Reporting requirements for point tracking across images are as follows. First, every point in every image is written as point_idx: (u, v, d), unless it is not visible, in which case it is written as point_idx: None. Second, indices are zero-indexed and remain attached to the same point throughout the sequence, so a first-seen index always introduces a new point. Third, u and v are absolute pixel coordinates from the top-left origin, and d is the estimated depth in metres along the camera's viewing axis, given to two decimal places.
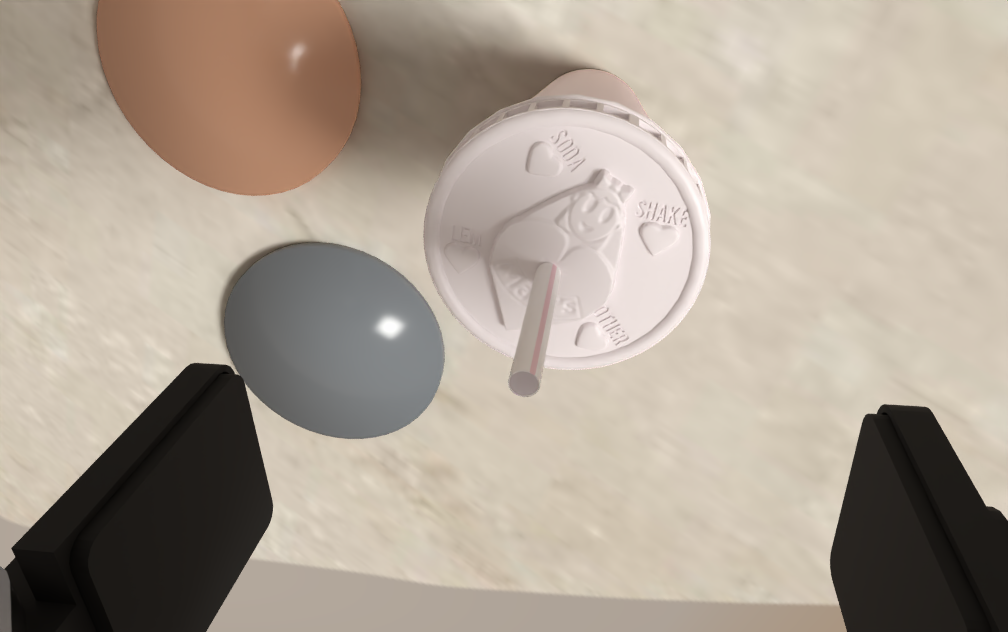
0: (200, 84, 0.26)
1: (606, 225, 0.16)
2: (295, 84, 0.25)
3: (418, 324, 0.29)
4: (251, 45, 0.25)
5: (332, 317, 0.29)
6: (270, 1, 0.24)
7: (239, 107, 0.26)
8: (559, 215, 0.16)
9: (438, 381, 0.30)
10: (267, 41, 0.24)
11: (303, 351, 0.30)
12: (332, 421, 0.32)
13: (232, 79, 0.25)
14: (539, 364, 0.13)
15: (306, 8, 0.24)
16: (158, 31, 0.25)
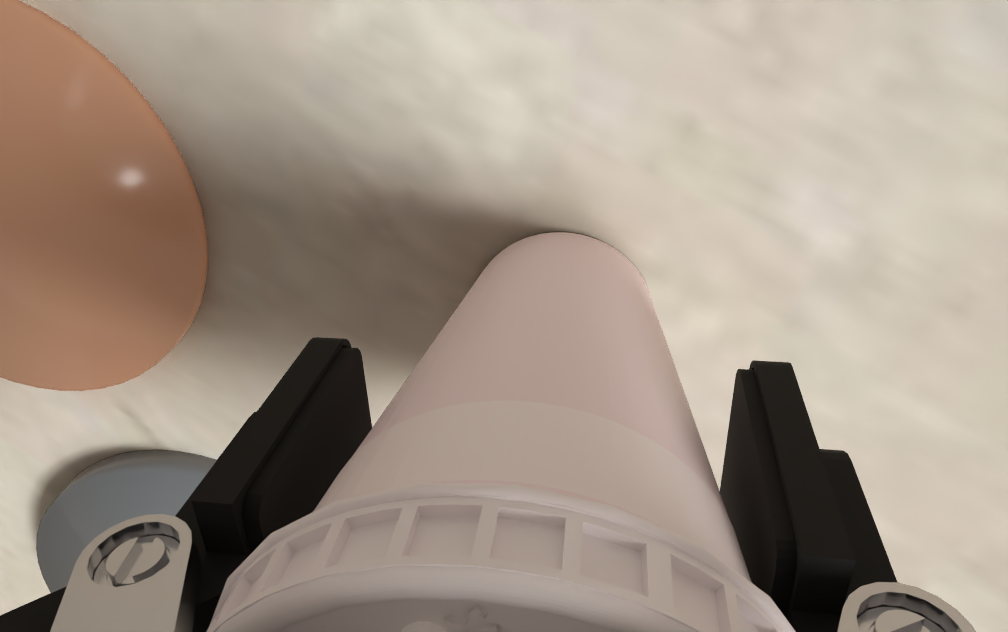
0: None
1: None
2: (102, 241, 0.16)
3: None
4: (28, 183, 0.15)
5: None
6: (48, 119, 0.15)
7: (23, 270, 0.17)
8: None
9: None
10: (51, 178, 0.15)
11: None
12: None
13: (7, 231, 0.16)
14: None
15: (105, 131, 0.15)
16: None
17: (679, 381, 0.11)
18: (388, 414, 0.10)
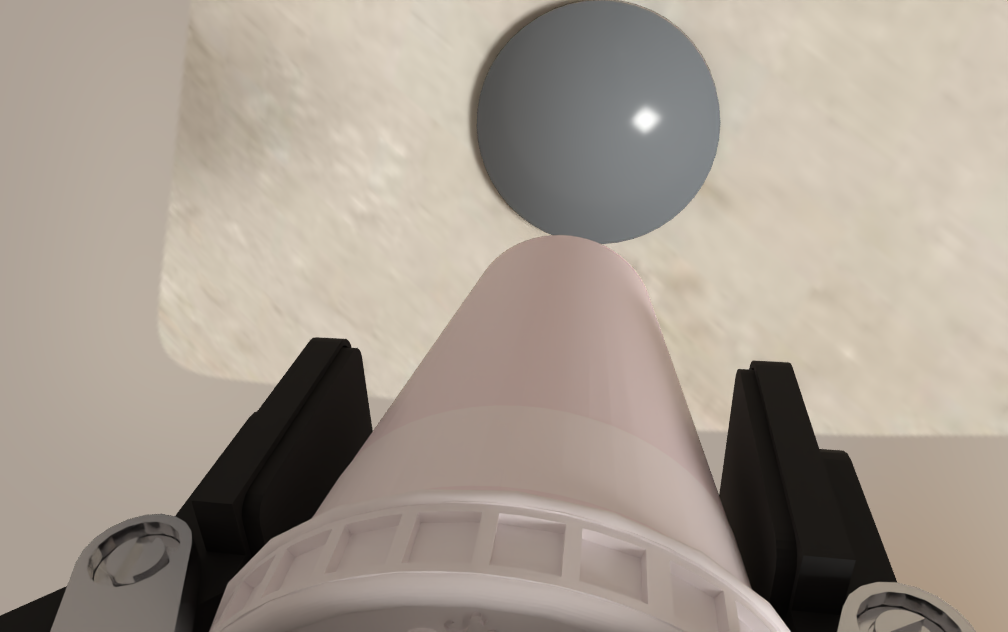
0: None
1: None
2: None
3: (649, 32, 0.26)
4: None
5: (572, 96, 0.28)
6: None
7: None
8: None
9: (710, 79, 0.26)
10: None
11: (572, 155, 0.29)
12: (645, 211, 0.29)
13: None
14: None
15: None
16: None
17: (679, 385, 0.11)
18: (388, 418, 0.10)
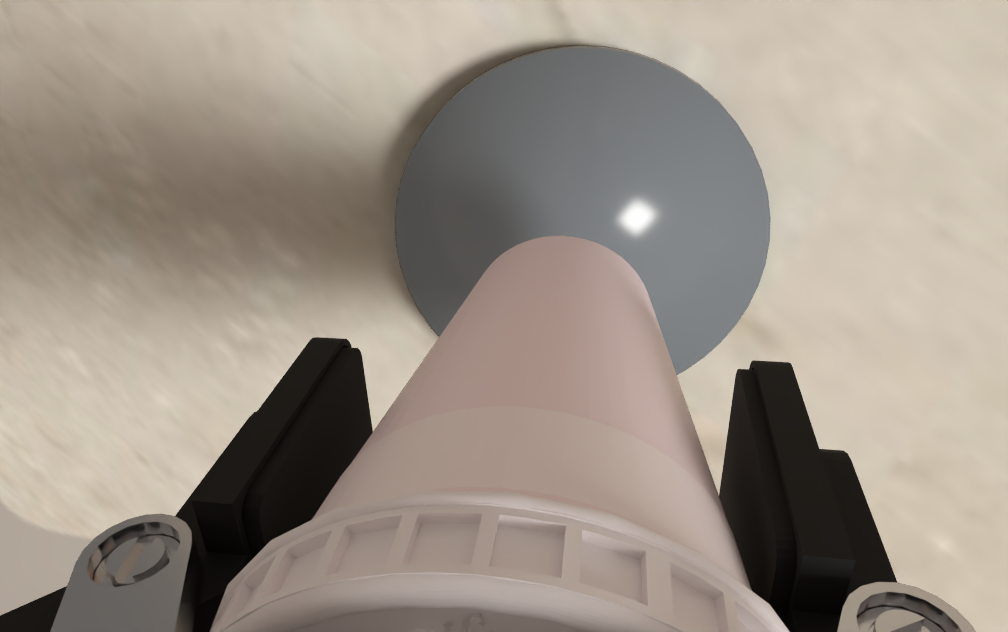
0: None
1: None
2: None
3: (607, 78, 0.16)
4: None
5: (527, 206, 0.18)
6: None
7: None
8: None
9: (725, 114, 0.17)
10: None
11: None
12: (691, 327, 0.19)
13: None
14: None
15: None
16: None
17: (679, 385, 0.11)
18: (388, 419, 0.10)
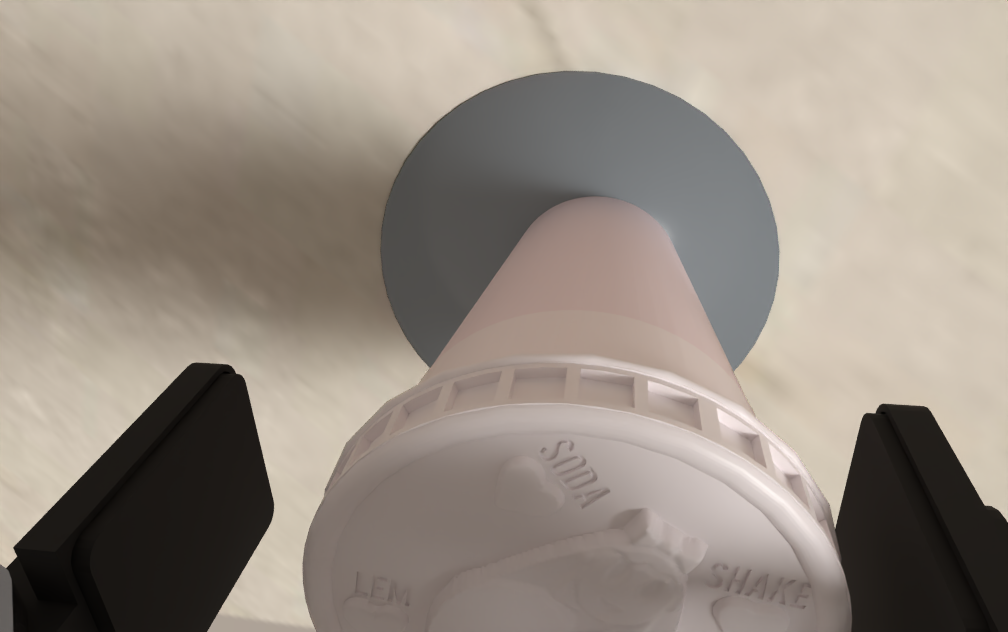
0: None
1: (649, 605, 0.08)
2: None
3: (551, 101, 0.15)
4: None
5: (509, 249, 0.17)
6: None
7: None
8: (557, 583, 0.08)
9: (686, 105, 0.15)
10: None
11: None
12: (718, 334, 0.17)
13: None
14: None
15: None
16: None
17: (707, 318, 0.13)
18: (462, 330, 0.11)
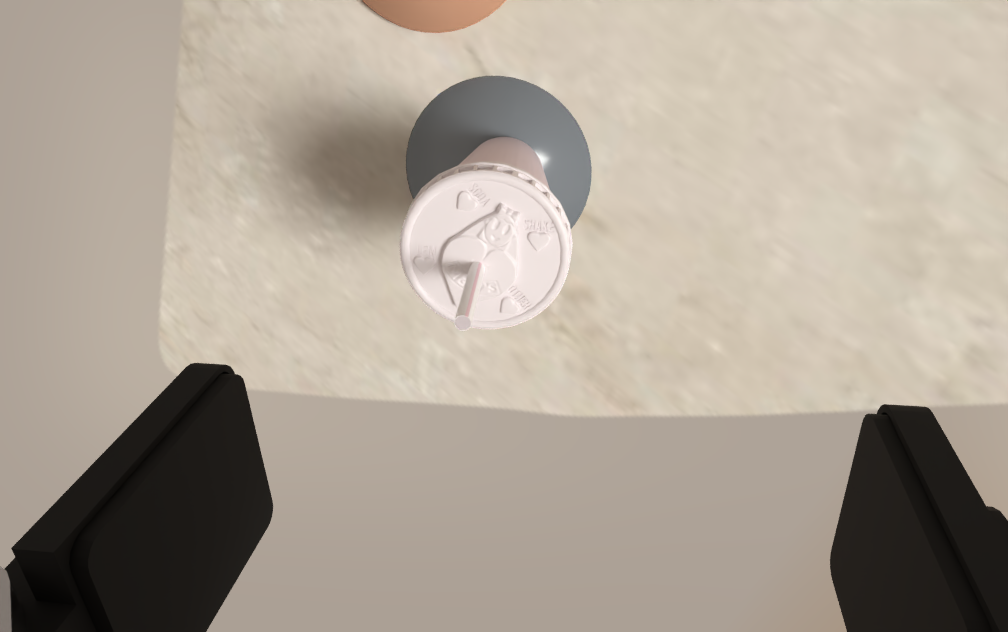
0: None
1: (507, 235, 0.27)
2: None
3: (481, 90, 0.34)
4: None
5: None
6: None
7: None
8: (479, 232, 0.27)
9: (540, 89, 0.34)
10: None
11: None
12: (568, 199, 0.36)
13: None
14: (470, 312, 0.24)
15: None
16: None
17: (543, 174, 0.32)
18: None
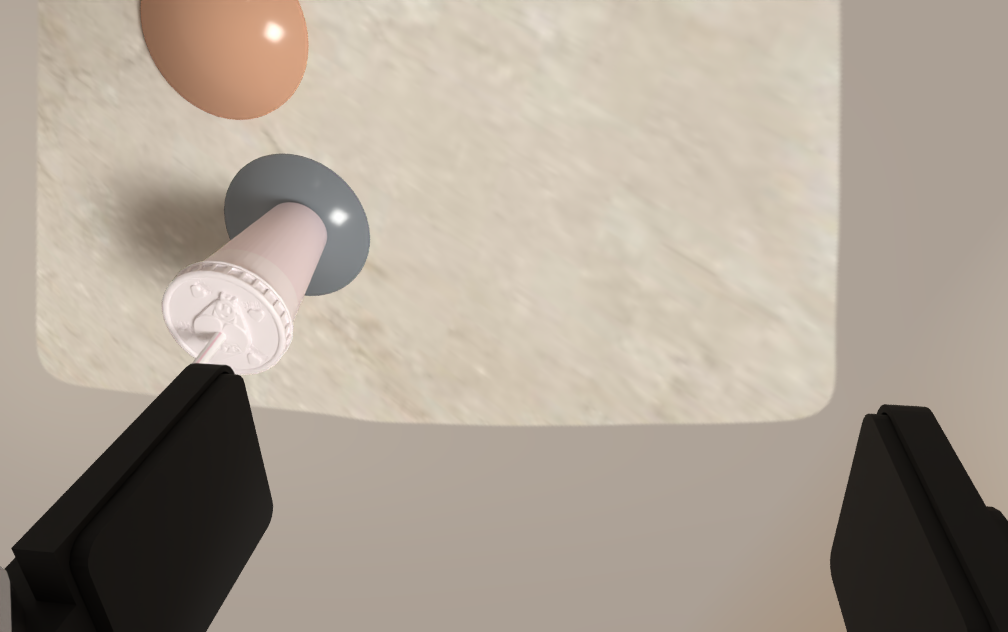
0: (205, 44, 0.40)
1: (232, 313, 0.36)
2: (266, 44, 0.39)
3: (278, 164, 0.43)
4: (238, 19, 0.39)
5: None
6: None
7: (230, 59, 0.40)
8: (212, 312, 0.36)
9: (323, 166, 0.43)
10: (249, 16, 0.39)
11: None
12: (353, 251, 0.45)
13: (226, 41, 0.40)
14: None
15: None
16: (180, 9, 0.39)
17: (297, 242, 0.40)
18: None
